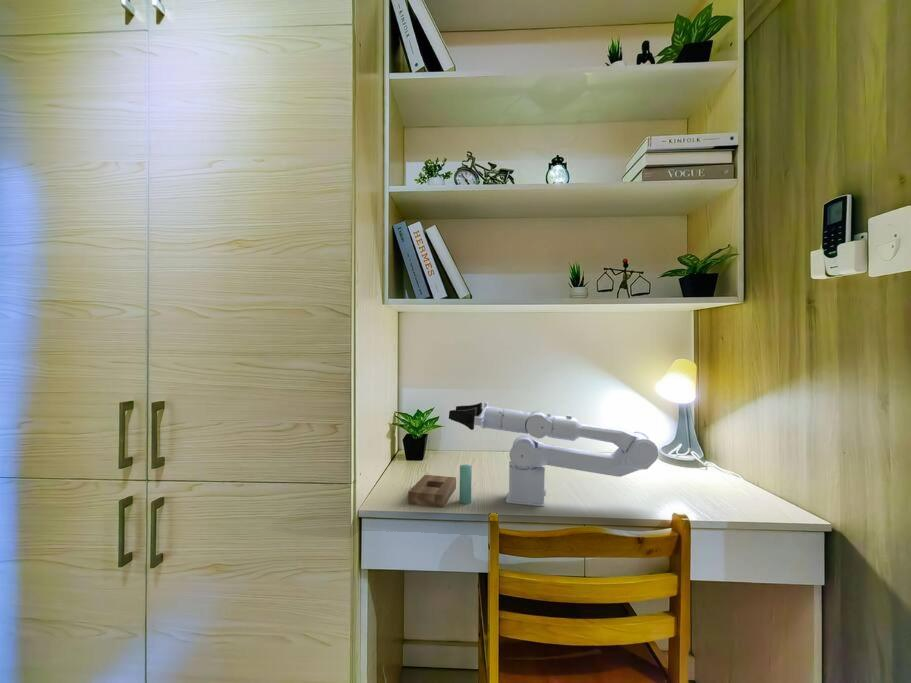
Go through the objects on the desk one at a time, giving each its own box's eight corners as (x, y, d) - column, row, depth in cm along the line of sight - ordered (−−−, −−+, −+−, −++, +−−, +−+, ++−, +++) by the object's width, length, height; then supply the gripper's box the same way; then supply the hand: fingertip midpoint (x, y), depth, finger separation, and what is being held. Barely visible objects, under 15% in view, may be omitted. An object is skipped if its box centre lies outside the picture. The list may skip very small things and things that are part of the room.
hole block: (455, 488, 117) (456, 477, 117) (443, 507, 103) (443, 495, 103) (424, 485, 119) (425, 474, 119) (408, 503, 105) (408, 491, 105)
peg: (472, 500, 108) (472, 465, 108) (469, 504, 105) (470, 468, 105) (460, 499, 109) (461, 464, 109) (458, 503, 106) (458, 467, 106)
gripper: (507, 400, 118) (459, 394, 121) (500, 408, 104) (447, 401, 107) (504, 425, 118) (457, 418, 121) (497, 436, 104) (444, 428, 107)
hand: (452, 412), depth 114 cm, fingers open, 7 cm apart
